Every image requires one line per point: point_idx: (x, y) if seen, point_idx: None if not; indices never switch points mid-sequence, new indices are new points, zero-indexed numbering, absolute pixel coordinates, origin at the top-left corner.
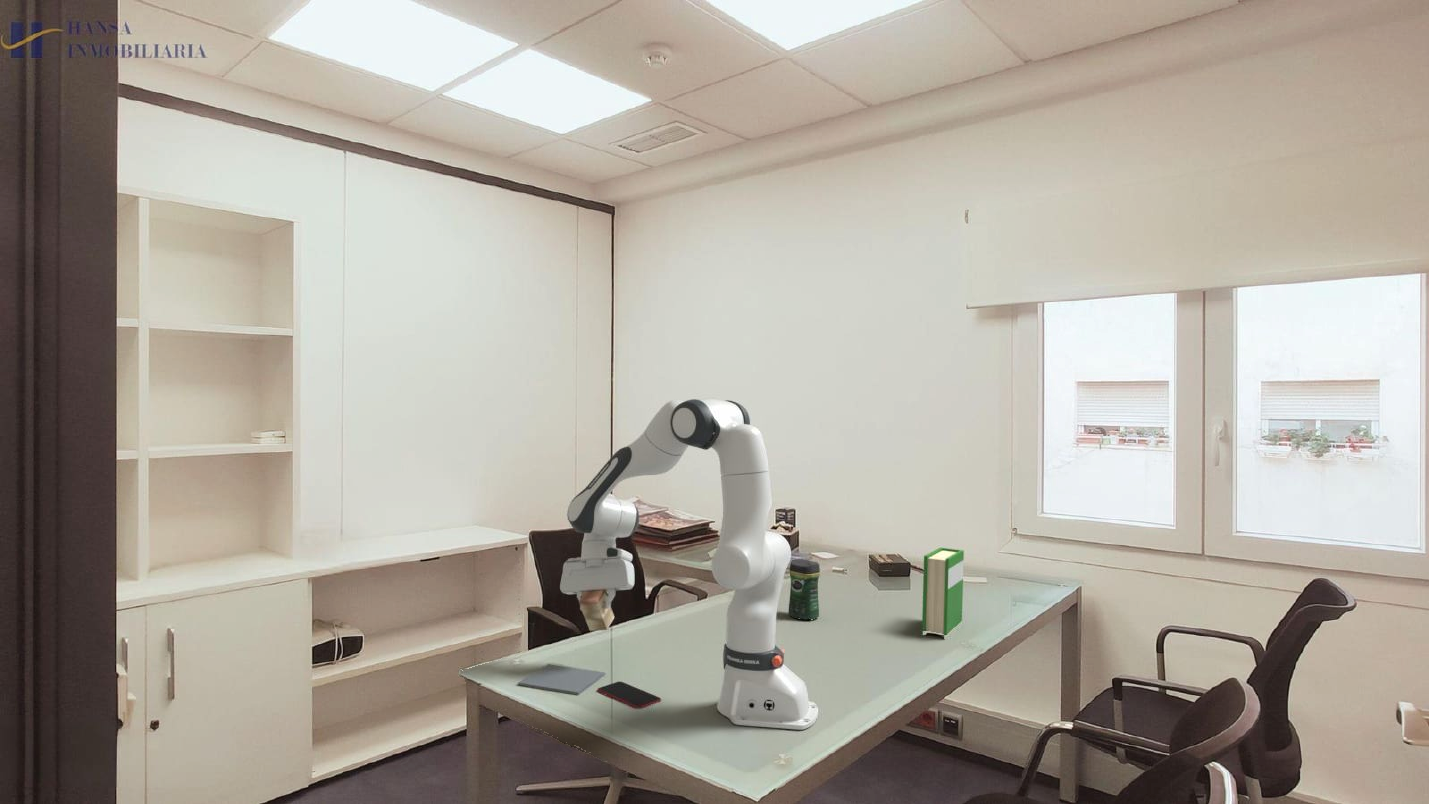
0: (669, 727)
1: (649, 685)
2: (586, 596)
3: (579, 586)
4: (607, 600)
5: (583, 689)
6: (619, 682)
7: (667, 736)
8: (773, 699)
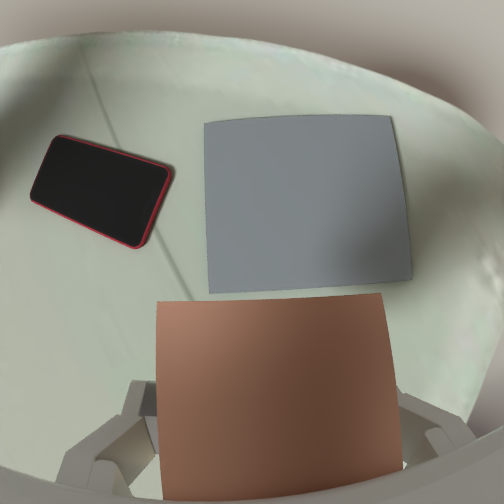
0: (10, 111)
1: (74, 271)
2: (337, 384)
3: (489, 471)
4: (120, 416)
5: (204, 151)
6: (134, 238)
7: (11, 88)
8: None
